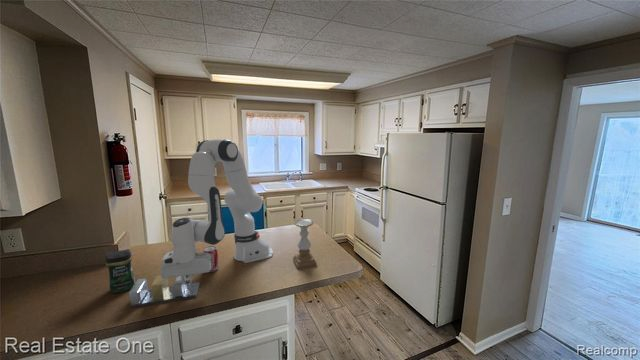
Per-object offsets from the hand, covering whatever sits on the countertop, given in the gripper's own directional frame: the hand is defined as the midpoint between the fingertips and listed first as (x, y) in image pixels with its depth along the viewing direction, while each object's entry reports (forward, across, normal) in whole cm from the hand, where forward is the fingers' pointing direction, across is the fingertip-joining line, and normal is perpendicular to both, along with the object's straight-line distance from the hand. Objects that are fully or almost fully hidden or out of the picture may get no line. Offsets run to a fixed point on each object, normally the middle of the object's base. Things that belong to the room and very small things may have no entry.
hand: (188, 282), depth 119 cm
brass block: (+4, +11, 0) cm, 12 cm away
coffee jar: (+5, +30, -12) cm, 33 cm away
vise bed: (+5, +9, 0) cm, 10 cm away
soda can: (+5, -8, -18) cm, 20 cm away
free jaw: (+3, +3, -4) cm, 6 cm away
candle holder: (+5, -57, -11) cm, 58 cm away
